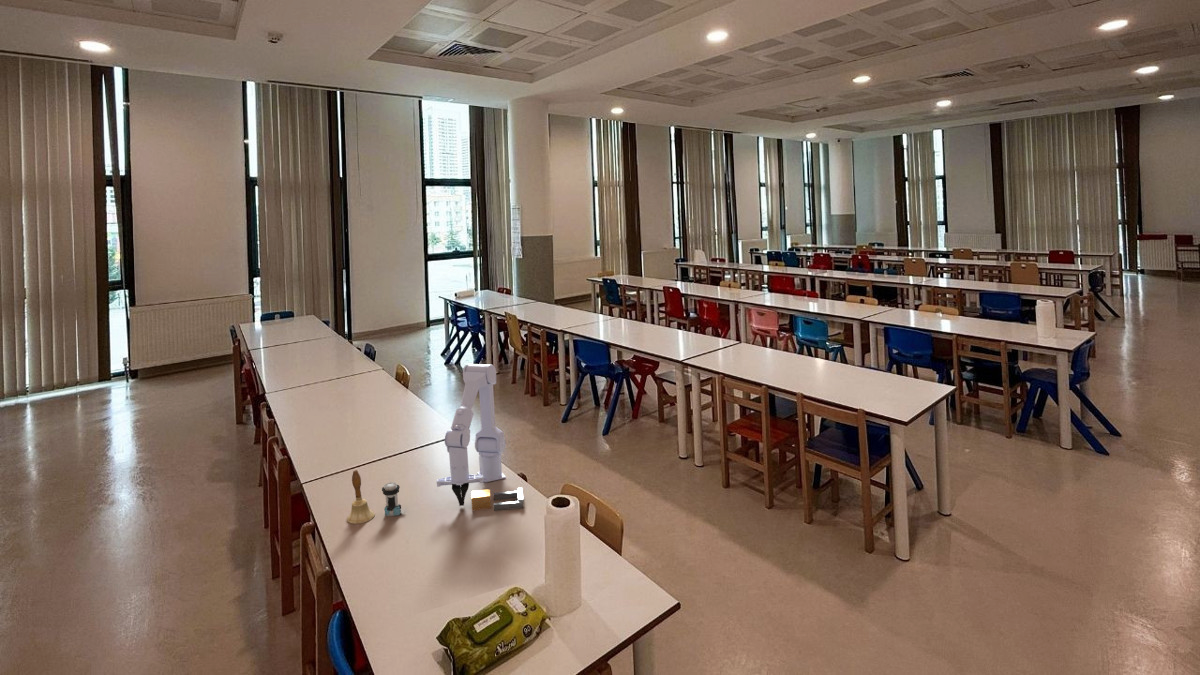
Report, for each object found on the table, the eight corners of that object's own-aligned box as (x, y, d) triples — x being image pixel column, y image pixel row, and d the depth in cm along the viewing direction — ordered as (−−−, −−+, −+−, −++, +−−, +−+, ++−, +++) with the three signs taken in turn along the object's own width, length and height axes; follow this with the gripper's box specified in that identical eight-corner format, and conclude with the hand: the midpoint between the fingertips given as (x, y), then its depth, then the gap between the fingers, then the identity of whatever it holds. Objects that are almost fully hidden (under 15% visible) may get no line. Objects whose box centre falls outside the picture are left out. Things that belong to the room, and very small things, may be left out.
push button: (408, 509, 196) (405, 481, 195) (403, 517, 191) (400, 488, 189) (387, 510, 196) (384, 481, 194) (381, 518, 191) (379, 488, 189)
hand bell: (365, 525, 187) (360, 476, 184) (341, 523, 189) (336, 475, 186) (379, 512, 195) (375, 466, 192) (356, 510, 197) (351, 464, 194)
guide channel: (493, 510, 195) (493, 502, 194) (493, 498, 203) (493, 490, 203) (523, 507, 196) (523, 499, 196) (522, 495, 205) (522, 487, 204)
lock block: (472, 510, 195) (471, 497, 194) (472, 503, 200) (471, 491, 199) (491, 508, 196) (490, 495, 196) (490, 501, 201) (489, 489, 200)
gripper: (434, 472, 189) (437, 512, 192) (481, 468, 192) (484, 507, 194) (436, 463, 196) (439, 502, 199) (482, 459, 199) (484, 498, 201)
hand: (461, 504), depth 197 cm, fingers closed
